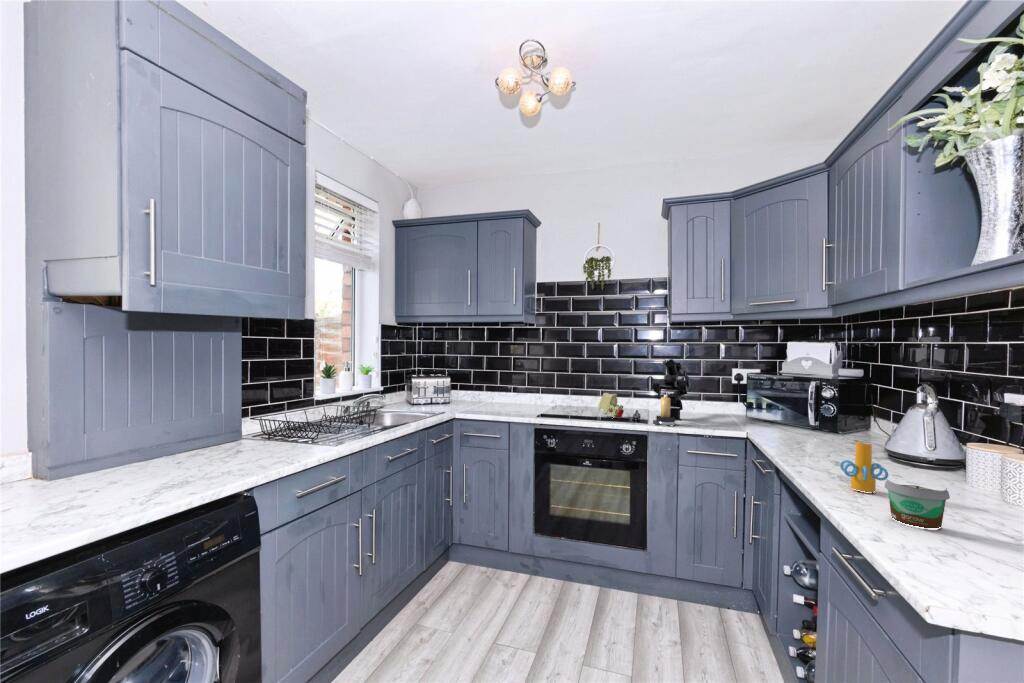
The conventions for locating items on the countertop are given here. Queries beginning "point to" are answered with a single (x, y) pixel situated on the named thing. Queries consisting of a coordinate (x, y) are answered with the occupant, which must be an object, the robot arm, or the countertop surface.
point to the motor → (664, 420)
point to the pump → (665, 406)
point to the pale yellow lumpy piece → (610, 405)
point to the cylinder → (863, 468)
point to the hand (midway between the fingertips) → (667, 399)
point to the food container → (917, 504)
